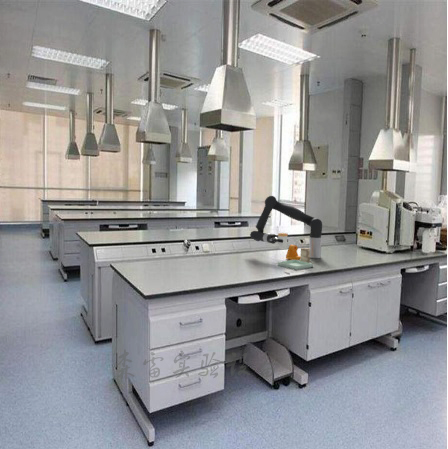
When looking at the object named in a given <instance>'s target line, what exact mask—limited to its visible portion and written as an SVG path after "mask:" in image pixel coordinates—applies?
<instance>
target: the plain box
mask: <svg viewBox="0 0 448 449" xmlns="http://www.w3.org/2000/svg"><path fill="white" fill-rule="evenodd" d="M300 256H301V258H300V259H299V261H303V262H308V263H311V261H310V260H311V258H310V249H309V247H301V248H300Z"/></svg>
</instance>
